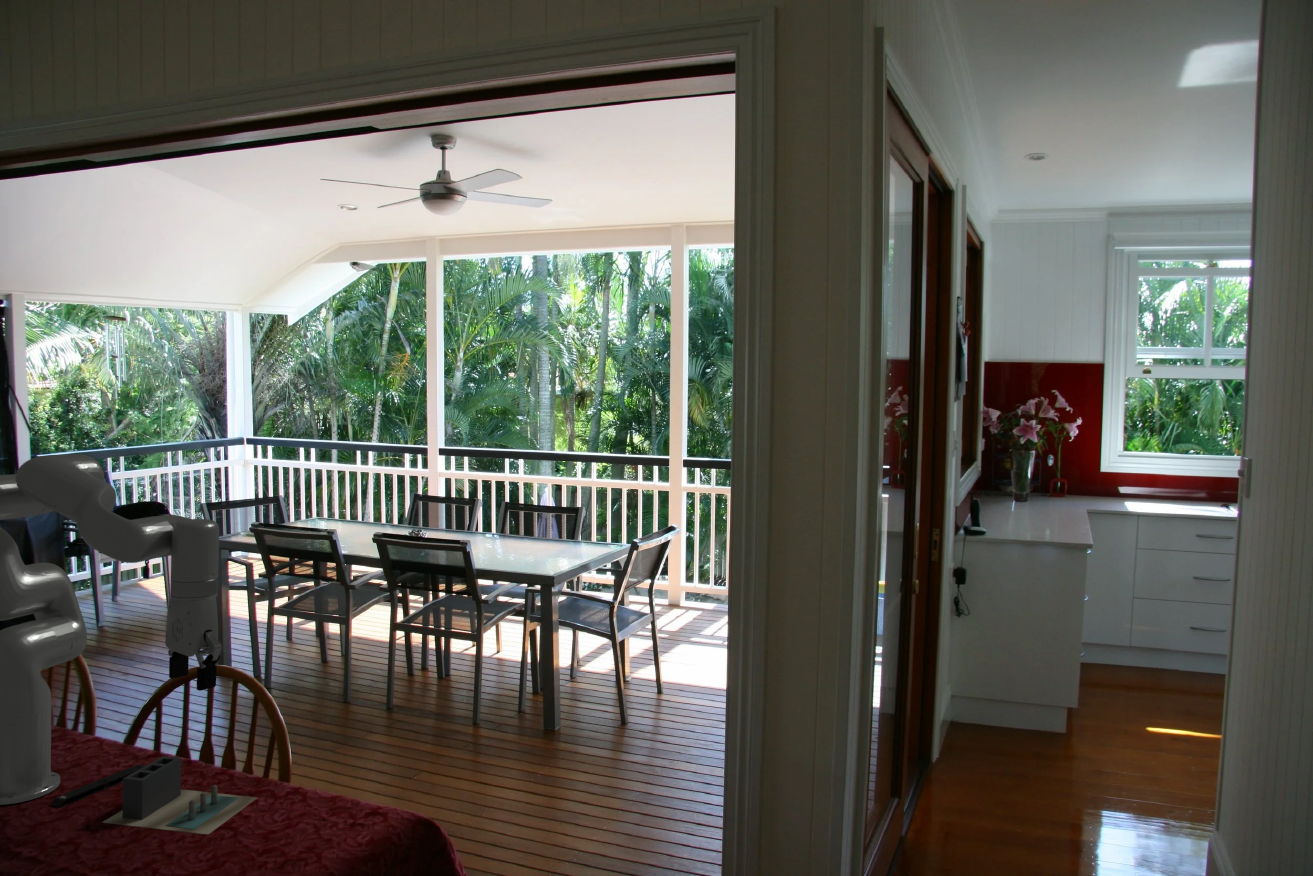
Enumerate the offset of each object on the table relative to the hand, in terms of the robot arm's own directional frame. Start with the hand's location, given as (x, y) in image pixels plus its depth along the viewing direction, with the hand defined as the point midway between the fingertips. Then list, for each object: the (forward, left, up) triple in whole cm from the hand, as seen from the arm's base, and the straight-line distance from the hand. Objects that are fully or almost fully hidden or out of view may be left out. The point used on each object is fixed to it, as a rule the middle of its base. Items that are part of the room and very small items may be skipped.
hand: (192, 682), depth 154 cm
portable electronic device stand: (-21, +4, -25) cm, 32 cm away
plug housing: (-6, -1, -23) cm, 24 cm away
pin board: (0, -1, -24) cm, 24 cm away
